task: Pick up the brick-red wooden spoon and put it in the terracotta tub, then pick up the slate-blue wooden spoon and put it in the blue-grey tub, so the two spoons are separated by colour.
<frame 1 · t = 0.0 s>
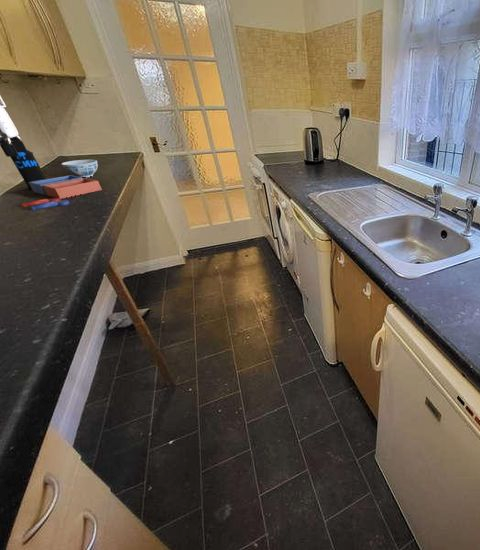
hand: (17, 154, 112), 21 cm above the worktop, tool pointing down, fingers open, 9 cm apart
chinaware: (86, 176, 167), on the worktop
blue bin: (61, 189, 145), on the worktop
aerosol can: (40, 187, 147), on the worktop
blue spoon: (53, 206, 123), on the worktop
red spoon: (44, 204, 126), on the worktop
red bin: (76, 192, 140), on the worktop
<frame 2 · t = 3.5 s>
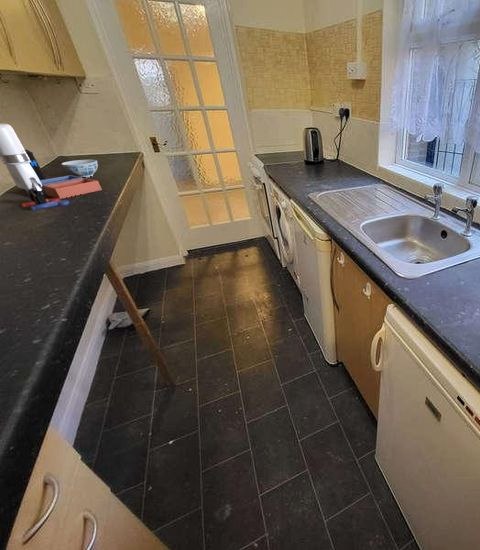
hand: (41, 204, 125), 0 cm above the worktop, tool pointing down, fingers closed on red spoon, 2 cm apart
red spoon: (44, 204, 126), on the worktop, touching gripper
everything else where it was.
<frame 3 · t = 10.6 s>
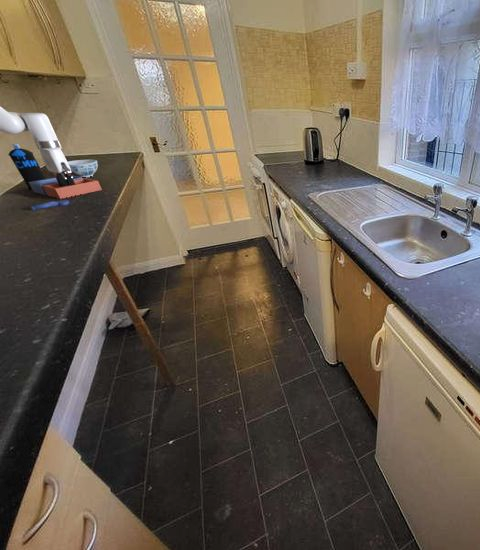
hand: (68, 186, 137), 3 cm above the worktop, tool pointing down, fingers open, 5 cm apart
red spoon: (75, 191, 140), point 1 cm above the worktop, touching red bin
everything else where it was.
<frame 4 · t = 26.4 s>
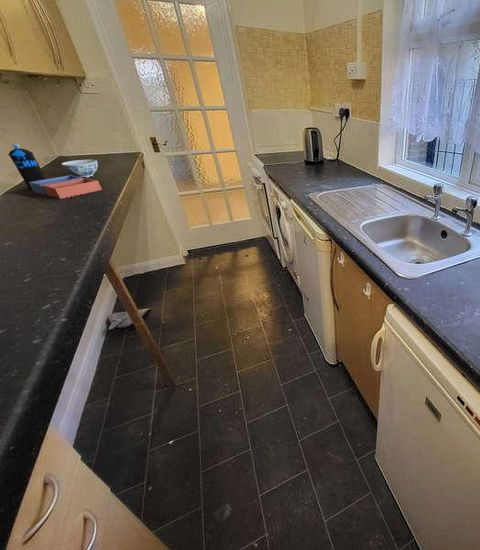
blue spoon: (61, 188, 145), point 1 cm above the worktop, touching blue bin
everything else where it was.
at the end: red spoon inside the target area in the red bin (0.1 cm from its centre), point 0.6 cm above the red bin's base; blue spoon inside the target area in the blue bin (0.2 cm from its centre), point 0.6 cm above the blue bin's base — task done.
